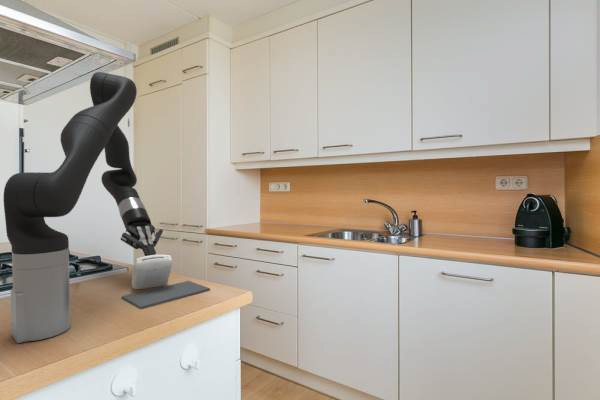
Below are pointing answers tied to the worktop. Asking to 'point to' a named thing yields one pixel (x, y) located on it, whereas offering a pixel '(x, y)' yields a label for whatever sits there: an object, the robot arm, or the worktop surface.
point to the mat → (164, 294)
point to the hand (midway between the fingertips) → (151, 257)
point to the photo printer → (151, 271)
